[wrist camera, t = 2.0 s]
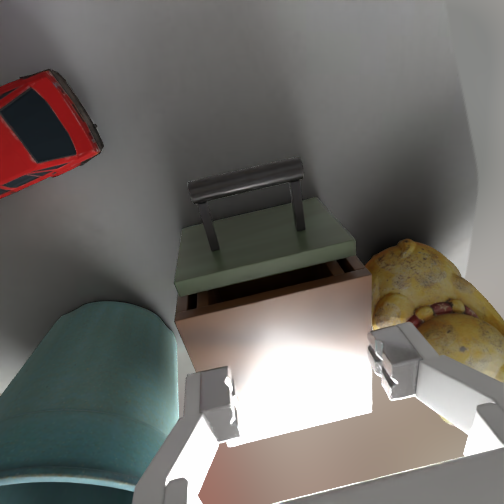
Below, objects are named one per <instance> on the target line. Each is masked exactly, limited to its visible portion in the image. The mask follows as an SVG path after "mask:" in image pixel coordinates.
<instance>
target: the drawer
mask: <svg viewBox="0 0 504 504" xmlns="http://www.w3.org/2000/svg"><path fill="white" fill-rule="evenodd" d="M303 177H304V171H303V165H302V161H301V159H300V157H294V158H289V159H285V160H281V161H276V162H272V163H268V164H263V165H259V166H255V167H250V168H246V169H242V170H237V171H233V172H229V173H224V174H220V175H216V176H211V177H207V178H203V179H198V180H194V181H190V182H188V189H189V194H190V197H191V200H192V202H193V204H197V206H198V209H199V212H200V216H201V219H202V222H203V224H199V225H194V226H190V227H186V228H182V232H181V239H180V246H179V252H178V259H177V266H176V273H175V279H174V284H175V287H176V289H177V292H178V294H179V296H180V297H182V296H187V295H191V294H195V293H197V308H200V307H204V306H209V305H213V304H217V303H221V302H225V301H230V300H234V299H238V298H242V297H246V296H251V295H255V294H259V293H263V292H267V291H272V290H276V289H280V288H284V287H288V286H293V285H297V284H301V283H305V282H309V281H314V280H318V279H322V278H326V277H330V276H335V275H339V274H343V273H344V271H343V270H342V268H341V267H340V265H339V264H338V263H337V261H336V260H338V259H343V258H347V257H351V256H355V255H356V240H355V238H354V237H353V236H352V235H351V234H350V233H349V232H348V231H347V230H346V229H345V227H344V226H343V225H342V224H341V223H340V222H339V221H338V220H337V219H336V218H335V216H334V215H333V214H332V213H331V212H330V211H329V210H328V209H327V208H326V207H325V205H324V204H323V203H322V202H321V201H320V200H319V199H318V198H317V197H314V198H310V199H306V200H302V194H301V186H300V181H299V180H301V179H303ZM288 182H289V186H290V193H291V200H292V203H289V204H284V205H280V206H276V207H271V208H267V209H263V210H259V211H254V212H250V213H246V214H241V215H237V216H233V217H229V218H224V219H220V220H216V221H212V217H211V214H210V210H209V207H208V203H207V201H210V200H215V199H219V198H223V197H228V196H232V195H236V194H241V193H245V192H249V191H253V190H258V189H262V188H266V187H271V186H275V185H279V184H284V183H288Z"/></svg>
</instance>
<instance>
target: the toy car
mask: <svg viewBox="0 0 504 504" xmlns="http://www.w3.org/2000/svg"><path fill="white" fill-rule="evenodd" d="M96 128H97V125H96V124H93V122H92V121H91V119H90V117H89V116H88V114H87V112H86V111H85V109H84V108H83V106H82V105H81V103H80V102H79V100H78V99H77V97H76V96H75V94H74V93H73V91H72V90H71V88H70V87H69V85H68V84H67V82H66V81H65V79H64V78H63V77H62V76H61V75H60V74H59V73H58V72H55V71H53V70H51V69H47V70H44V71H42V72H39V73H36V74H33V75H28V76H24V77H20V79H19V80H16V81H13V82H10V83H8V84H5V85H3V86H1V87H0V199H1V198H4V197H6V196H8V195H10V194H13V193H15V192H17V191H19V190H22V189H24V188H26V187H28V186H31V185H33V184H35V183H37V182H39V181H42V180H44V179H46V178H48V177H56V176H59V175H61V174H63V173H65V172H67V171H70V170H72V169H74V168H76V167H78V166H81V165H83V164H85V163H87V162H88V161H89V160H90V159H92V158H93V157H95V156H97V155H98V154H100V153H101V151H102V149H103V147H104V145H103V142H102V140H101V138H100V136H99V133H98V131H97V129H96Z"/></svg>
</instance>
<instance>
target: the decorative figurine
mask: <svg viewBox="0 0 504 504" xmlns="http://www.w3.org/2000/svg"><path fill="white" fill-rule="evenodd" d="M365 267H366V268H367V269H368V270H369V272H370V273H371V274H372V326H373V330H376V329H380V328H384V327H388V326H392V325H397V324H401V323H405V322H411V323H412V324H413V325H414V326H415V327H416V328H417V330H418V331H419V332H420V333H421V334H422V335H423V337H424V338H425V339H426V340H427V341H428V343H429V344H430V345H431V346H432V347H433V349H434V350H435V351H436V352H437V353H438V354H439V356H440V355H445V356H447V357H450V358H452V359H454V360H456V361H458V362H460V363H462V364H464V365H467V366H469V367H471V368H473V369H475V370H477V371H479V372H481V373H483V374H486V375H488V376H490V377H492V378H494V379H496V380H498V381H500V382H502V383H504V320H503V319H502V318H501V316H500V315H499V314H498V313H497V311H496V310H495V309H494V308H493V306H492V305H491V304H490V303H489V302H488V300H487V299H486V298H485V297H484V296H483V295H482V294H481V293H480V292H479V291H478V290H477V289H476V288H475V287H474V286H473V285H472V284H471V283H469V282H468V281H467V280H465V279H464V278H462V277H461V274H460V272H459V270H458V269H457V268H456V266H455V265H454V264H453V263H452V262H451V261H450V260H448V259H447V258H446V257H445V256H444V255H443V254H441V253H440V252H438V251H437V250H435V249H434V248H432V247H430V246H428V245H425V244H422V243H419V242H414V241H412V240H411V239H404V240H400V241H399V242H398V244H397V245H396V246H393V247H389V248H387V249H385V250H383V251H381V252H380V253H378V254H375V255H373V256H372V258H371V259H370V260H369V261H368V262H367V263H366V265H365ZM438 415H439V416H440V417H441V418H442V420H443V421H444V422H446V423H448V424H449V425H452V426H455V425H454V424H452V423H451V422H449V421H448V420H447V419H445V418H444V417H442V416H441V415H440V414H438Z"/></svg>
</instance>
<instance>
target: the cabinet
mask: <svg viewBox="0 0 504 504" xmlns="http://www.w3.org/2000/svg"><path fill="white" fill-rule="evenodd" d="M336 261H337V263H338V264H339V265H340V267H341V268H342V270H343V271H344V273H343V274H339V275H335V276H330V277H326V278H322V279H318V280H314V281H309V282H305V283H301V284H297V285H293V286H288V287H284V288H280V289H276V290H272V291H267V292H263V293H259V294H255V295H251V296H246V297H242V298H238V299H234V300H230V301H225V302H221V303H217V304H213V305H209V306H204V307H200V308H197V293H195V294H191V295H187V296H182V297H180V296H179V294H178V297H177V305H176V314H175V321H174V322H175V324H176V327H177V329H178V331H179V334H180V336H181V338H182V341H183V343H184V345H185V347H186V350H187V352H188V354H189V357H190V359H191V361H192V364H193V366H194V368H195V371H196V372H200V371H205V370H209V369H214V368H219V367H223V366H229V368H230V370H231V376H232V379H233V380H234V382H235V385H236V389H237V394H238V401H239V408H238V413H239V416H240V419H241V430H242V437H241V438H238V439H234V440H230V441H227V442H226V443H227V445H228V447H231V446H236V445H239V444H244V443H247V442H252V441H256V440H260V439H264V438H268V437H272V436H276V435H280V434H284V433H289V432H292V431H297V430H301V429H305V428H309V427H313V426H317V425H321V424H325V423H329V422H333V421H337V420H342V419H345V418H350V417H354V416H358V415H362V414H366V413H370V412H372V366H371V364H370V362H369V358H368V351H367V348H368V346H369V345H370V343H369V341H368V340H367V334H368V331H372V274H371V273H370V272H369V270H368V269H367V268H366V267H365V266H364V265H363V263H362V262H361V261H360V260H359V258H358V257H357V256H356V255H355V256H351V257H347V258H343V259H338V260H336Z"/></svg>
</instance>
